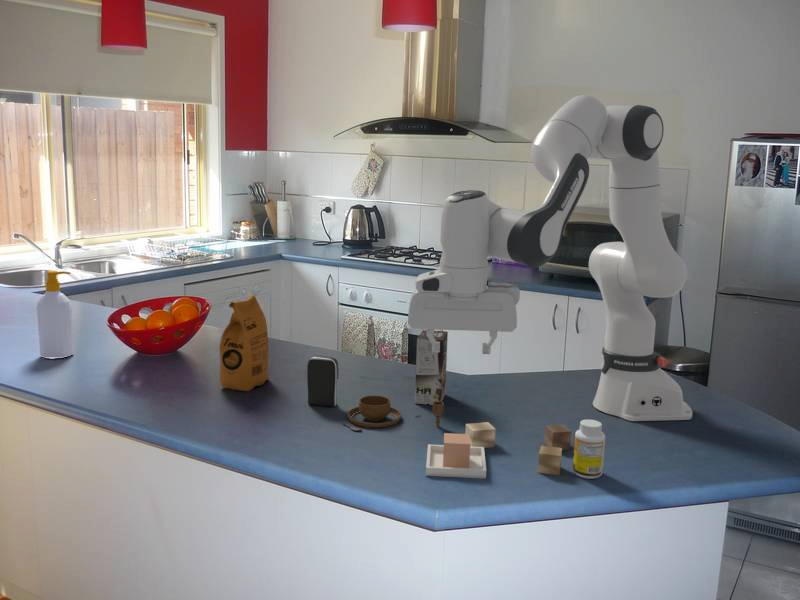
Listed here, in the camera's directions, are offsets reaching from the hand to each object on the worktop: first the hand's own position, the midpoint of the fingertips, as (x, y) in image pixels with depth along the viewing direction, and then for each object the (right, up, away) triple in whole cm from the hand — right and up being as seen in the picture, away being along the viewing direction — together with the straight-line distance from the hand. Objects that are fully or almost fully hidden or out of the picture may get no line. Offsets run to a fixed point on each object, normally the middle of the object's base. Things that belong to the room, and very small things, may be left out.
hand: (461, 352), depth 145 cm
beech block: (+5, -20, +15) cm, 26 cm away
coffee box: (-4, -14, +42) cm, 45 cm away
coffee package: (-51, -12, +50) cm, 72 cm away
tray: (-1, -22, +5) cm, 23 cm away
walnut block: (+21, -21, +15) cm, 33 cm away
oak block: (+17, -23, +4) cm, 29 cm away
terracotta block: (-1, -22, +5) cm, 22 cm away
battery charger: (-29, -15, +37) cm, 49 cm away
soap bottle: (-106, -6, +70) cm, 127 cm away
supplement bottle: (+24, -23, +2) cm, 34 cm away
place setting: (-14, -18, +26) cm, 34 cm away
